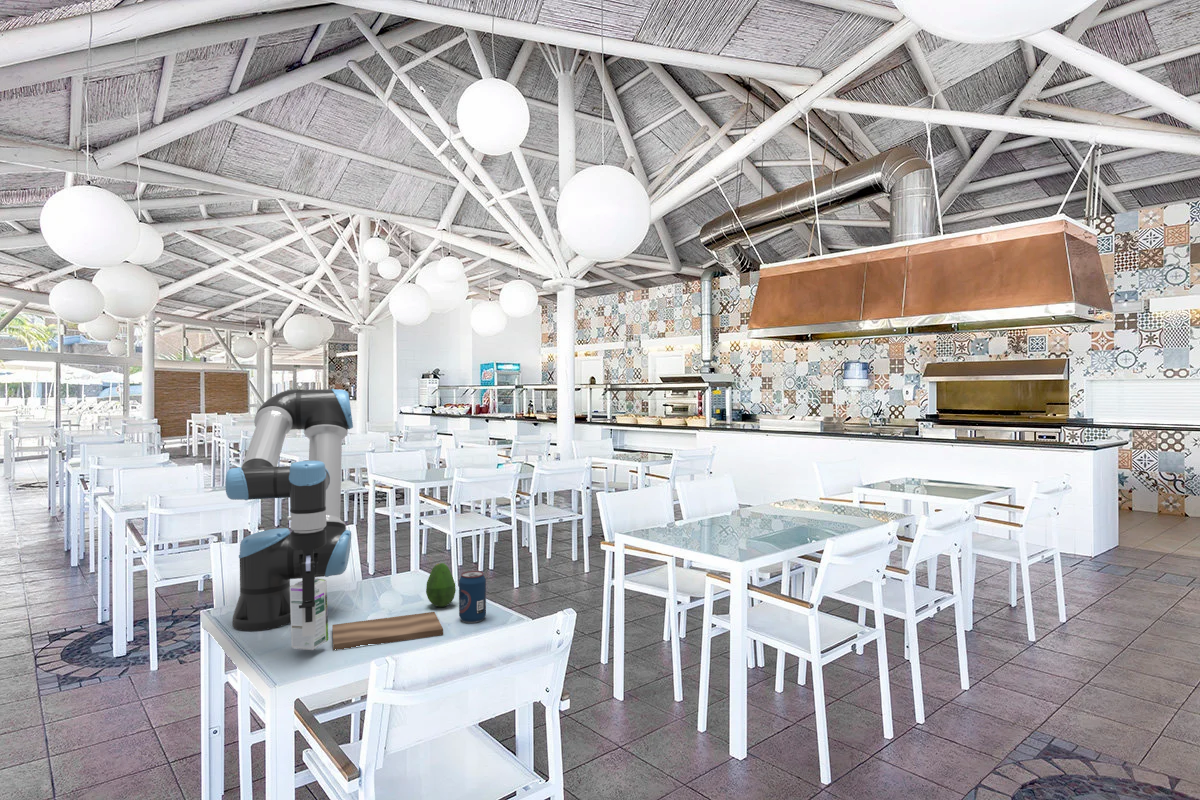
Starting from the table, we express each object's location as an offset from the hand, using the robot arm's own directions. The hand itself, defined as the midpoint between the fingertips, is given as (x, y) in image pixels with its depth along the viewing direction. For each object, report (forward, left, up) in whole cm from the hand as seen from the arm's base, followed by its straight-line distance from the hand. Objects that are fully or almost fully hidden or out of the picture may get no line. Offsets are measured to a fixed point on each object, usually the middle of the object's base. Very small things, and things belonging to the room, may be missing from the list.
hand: (309, 628), depth 152 cm
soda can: (-8, +39, -6) cm, 40 cm away
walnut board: (-6, +17, -5) cm, 19 cm away
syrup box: (0, 0, -4) cm, 4 cm away
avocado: (-22, +33, -6) cm, 40 cm away
